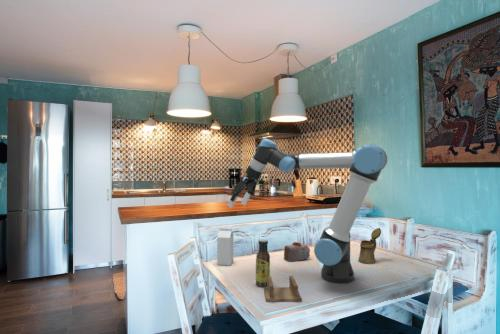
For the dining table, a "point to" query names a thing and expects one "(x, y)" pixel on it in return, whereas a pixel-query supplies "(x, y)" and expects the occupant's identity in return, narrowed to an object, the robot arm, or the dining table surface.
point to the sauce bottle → (262, 264)
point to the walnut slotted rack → (282, 292)
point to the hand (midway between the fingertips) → (236, 205)
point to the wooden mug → (369, 248)
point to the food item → (296, 252)
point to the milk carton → (225, 247)
